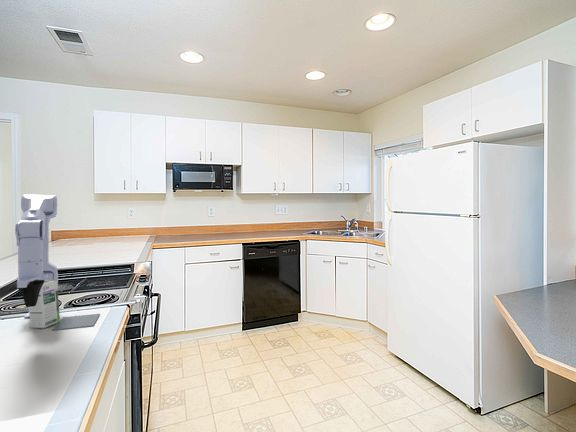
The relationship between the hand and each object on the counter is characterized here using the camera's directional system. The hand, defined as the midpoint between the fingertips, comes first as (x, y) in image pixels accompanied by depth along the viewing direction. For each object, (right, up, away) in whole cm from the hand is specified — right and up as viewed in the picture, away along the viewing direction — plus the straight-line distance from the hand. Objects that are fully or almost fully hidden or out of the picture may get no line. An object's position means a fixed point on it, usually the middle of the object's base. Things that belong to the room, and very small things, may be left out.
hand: (31, 306), depth 93 cm
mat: (+4, -10, +15) cm, 19 cm away
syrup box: (-5, -10, +12) cm, 16 cm away
